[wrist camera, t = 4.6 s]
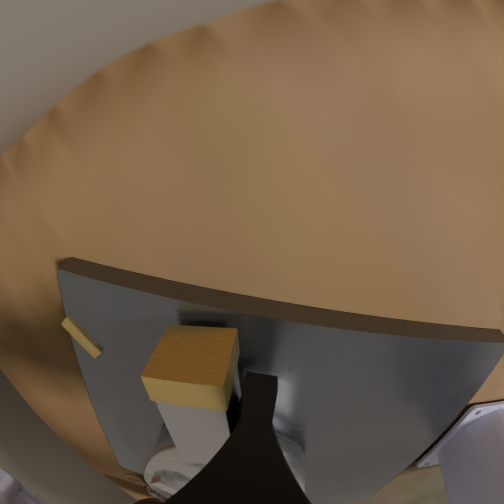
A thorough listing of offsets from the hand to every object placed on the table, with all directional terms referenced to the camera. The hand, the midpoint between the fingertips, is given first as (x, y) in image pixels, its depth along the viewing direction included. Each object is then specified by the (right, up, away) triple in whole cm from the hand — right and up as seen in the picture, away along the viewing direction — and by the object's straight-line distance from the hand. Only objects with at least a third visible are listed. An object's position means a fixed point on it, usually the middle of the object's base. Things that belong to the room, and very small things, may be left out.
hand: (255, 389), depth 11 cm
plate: (+1, -6, +5) cm, 8 cm away
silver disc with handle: (-2, -4, +3) cm, 5 cm away
